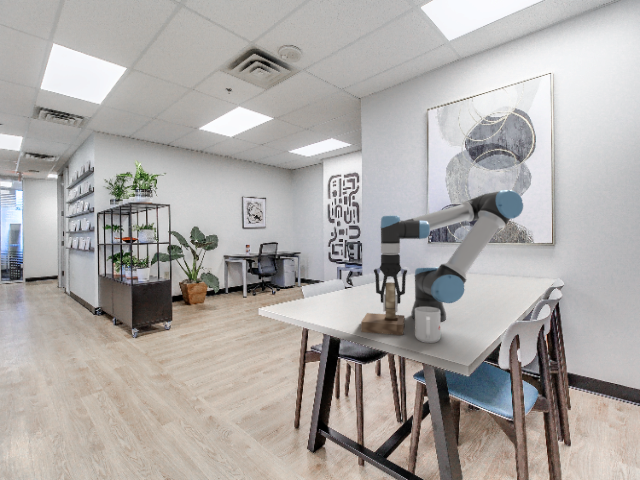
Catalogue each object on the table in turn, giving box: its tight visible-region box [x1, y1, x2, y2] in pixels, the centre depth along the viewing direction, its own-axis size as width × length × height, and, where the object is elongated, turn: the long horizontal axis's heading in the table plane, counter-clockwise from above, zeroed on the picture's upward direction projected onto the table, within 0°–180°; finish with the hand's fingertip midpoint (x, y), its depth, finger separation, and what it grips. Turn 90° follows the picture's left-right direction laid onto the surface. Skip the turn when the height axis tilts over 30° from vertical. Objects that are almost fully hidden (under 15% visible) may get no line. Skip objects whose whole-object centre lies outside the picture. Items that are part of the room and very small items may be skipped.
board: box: [360, 312, 405, 336], centre depth 132 cm, size 16×14×4 cm
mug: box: [414, 307, 442, 344], centre depth 116 cm, size 12×9×11 cm
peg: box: [384, 281, 397, 319], centre depth 130 cm, size 4×4×14 cm
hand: (390, 310), depth 131 cm, fingers closed on peg, 4 cm apart
